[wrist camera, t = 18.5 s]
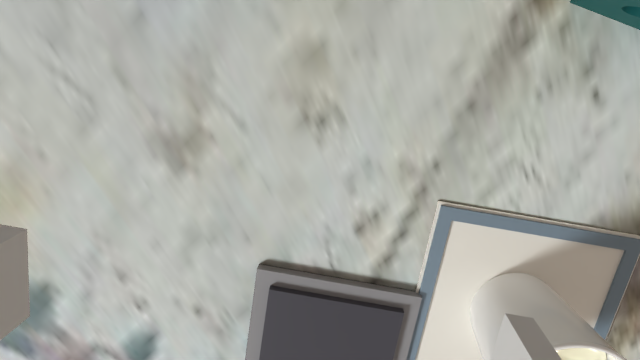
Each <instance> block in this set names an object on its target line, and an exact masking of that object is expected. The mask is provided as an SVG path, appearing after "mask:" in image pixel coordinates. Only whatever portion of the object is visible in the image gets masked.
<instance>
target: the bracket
mask: <svg viewBox="0 0 640 360" xmlns="http://www.w3.org/2000/svg"><path fill="white" fill-rule="evenodd" d="M570 3H573V4H575V5H578V6H580V7H583V8H586V9H588V10H591V11H593V12H596V13H598V14H601V15H603V16H606V17H609V18H611V19H614V20H616V21H619V22H621V23H624V24H626V25H629V26H632V27H634V28H637V29H639V30H640V0H571V1H570Z"/></svg>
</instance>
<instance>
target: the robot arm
mask: <svg viewBox="0 0 640 360" xmlns="http://www.w3.org/2000/svg"><path fill="white" fill-rule="evenodd" d="M29 316H30V307H29V276H28V246H27V229H24V228H18V227H12V226H6V225H1V224H0V340H1V339H3V338H4V337H5V336H6V335H7V334H9V333H10V332H11V331H12V330H13V329H15V328H16V327H17V326H18V325H19V324H21V323H22V322H23V321H24V320H25V319H27V318H28V317H29ZM490 360H562V359H561V358H560V356H559V355H558V354H557V352H556V351H555V349H554V348H553V346H552V345H551V343H550V342H549V340H548V339H547V337H546V336H545V334H544V333H543V332H542V330H541V329H540V327H539V326H538V324H537V323H536V321H535V320H534V318H530V317H524V316H518V315H513V314H507V313H505V314H504V317H503V321H502V324H501V327H500V330H499V333H498V336H497V339H496V342H495V346H494V349H493V352H492V355H491V358H490Z"/></svg>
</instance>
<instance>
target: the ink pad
mask: <svg viewBox="0 0 640 360" xmlns="http://www.w3.org/2000/svg"><path fill="white" fill-rule="evenodd" d="M421 300H422V296H421V295H419V293H416V292H415V291H410V290H404V289H398V288H393V287H387V286H381V285H376V284H370V283H364V282H359V281H353V280H347V279H342V278H336V277H330V276H324V275H319V274H313V273H307V272H302V271H296V270H290V269H285V268H279V267H273V266H267V265H262V264H259V266H258V268H257V273H256V281H255V289H254V296H253V304H252V311H251V319H250V327H249V334H248V342H247V349H246V357H245V360H406V359H407V355H408V351H409V347H410V343H411V339H412V336H413V332H414V328H415V324H416V320H417V316H418V312H419V308H420V304H421Z"/></svg>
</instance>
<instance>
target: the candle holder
mask: <svg viewBox="0 0 640 360" xmlns="http://www.w3.org/2000/svg"><path fill="white" fill-rule="evenodd" d="M505 313H507V314H513V315H518V316H524V317H530V318H534V320H535V321H536V323H537V324H538V326H539V327H540V329H541V330H542V332H543V333H544V334H545V336H546V337H547V339H548V340H549V342H550V343H551V345H552V346H553V348H554V349H555V351H556V352H557V354H558V355H559V356H560V358H561V359H562V360H626V359H625V358H624V357H623V356H621V355H620V354H619V353H618V352H617V351H616V350H615V349H614V348H613V347H612V346H611V345H610V344H609V343H608V342H606V341H605V340H604V339H603V338H602V337H601V336H600V335H599V334H598V333H597V332H596V331H595V330H594V329H593V328H592V327H591V326H590V325H589V324H588V323H587V322H586V321H585V320H584V319H583V318H582V317H581V316H580V315H579V314H578V313H577V312H576V311H575V310H574V309H573V308H572V307H571V306H570V305H569V304H568V303H567V302H566V301H565V300H564V299H563V298H562V297H561V296H560V295H559V294H558V293H557V292H556V291H555V290H554V289H553V288H552V287H551V286H549V285H548V284H547V283H546V282H544V281H543V280H541V279H540V278H538V277H536V276H533V275H530V274H526V273H507V274H503V275H500V276H497V277H495V278H493V279H491V280H489V281H488V282H486V283H485V284H484V285H483V286H481V287H480V289H479V290H478V291H477V292H476V294H475V295H474V297H473V299H472V302H471V305H470V322H471V326H472V329H473V332H474V336H475V339H476V342H477V345H478V348H479V351H480V354H481V357H482V360H490V358H491V355H492V352H493V349H494V346H495V342H496V339H497V336H498V333H499V330H500V327H501V324H502V321H503V317H504V314H505Z"/></svg>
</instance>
